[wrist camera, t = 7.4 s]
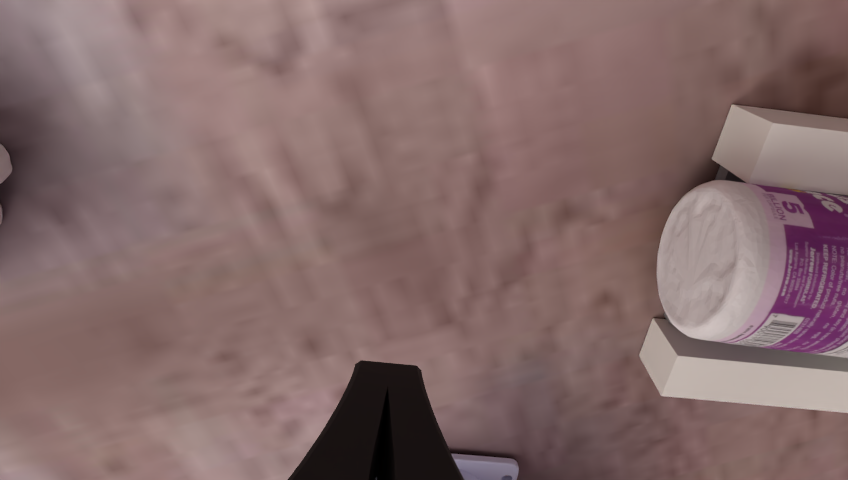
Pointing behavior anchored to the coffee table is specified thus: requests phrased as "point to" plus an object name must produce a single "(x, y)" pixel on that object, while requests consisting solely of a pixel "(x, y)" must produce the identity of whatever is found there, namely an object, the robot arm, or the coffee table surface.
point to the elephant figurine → (4, 168)
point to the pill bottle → (758, 267)
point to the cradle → (746, 365)
